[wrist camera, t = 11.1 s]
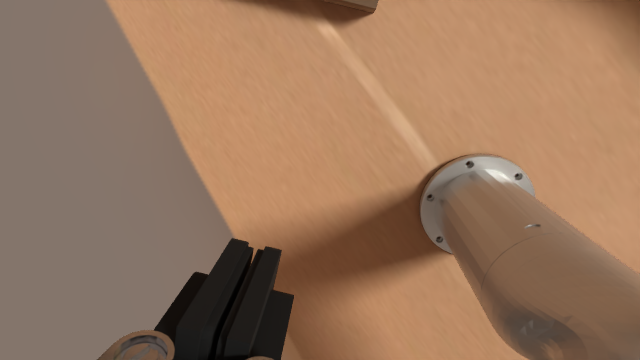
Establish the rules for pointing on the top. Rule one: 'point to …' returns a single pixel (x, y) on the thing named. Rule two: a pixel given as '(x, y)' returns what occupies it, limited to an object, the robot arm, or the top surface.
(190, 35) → the top surface
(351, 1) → the board
